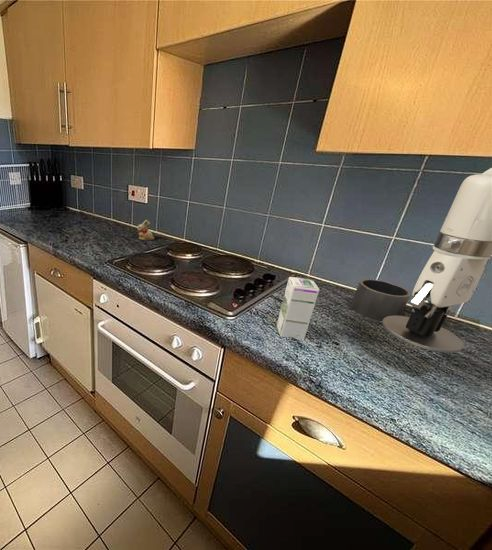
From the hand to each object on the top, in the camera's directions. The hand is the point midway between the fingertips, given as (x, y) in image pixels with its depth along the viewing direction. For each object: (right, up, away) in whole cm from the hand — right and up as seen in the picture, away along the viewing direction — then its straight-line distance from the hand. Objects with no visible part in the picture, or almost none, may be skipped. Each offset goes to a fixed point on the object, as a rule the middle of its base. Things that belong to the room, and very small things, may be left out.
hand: (422, 328), depth 62 cm
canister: (+11, 0, +26) cm, 29 cm away
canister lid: (0, -1, 0) cm, 1 cm away
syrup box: (-20, -4, +15) cm, 25 cm away
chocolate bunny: (-52, +29, +87) cm, 106 cm away
